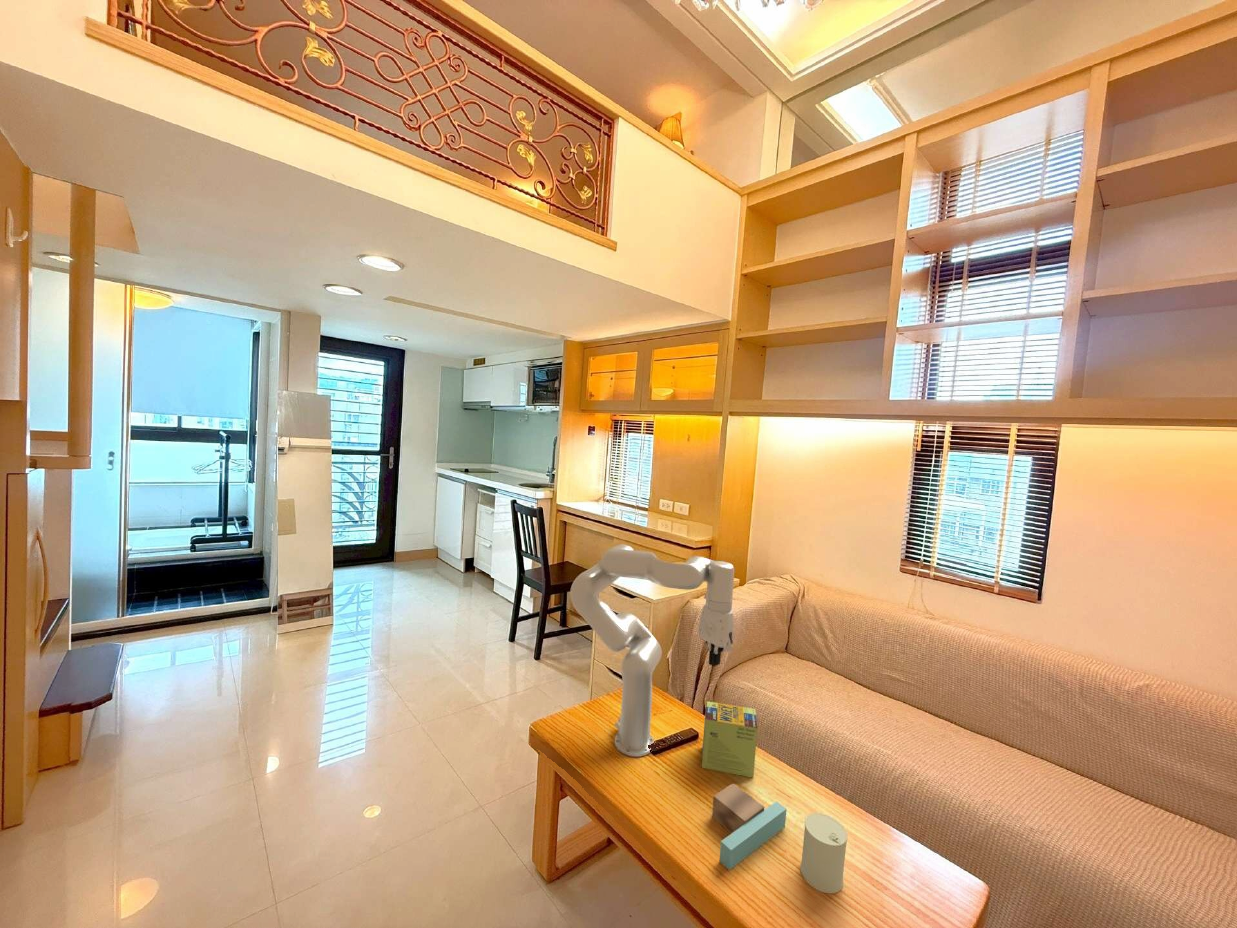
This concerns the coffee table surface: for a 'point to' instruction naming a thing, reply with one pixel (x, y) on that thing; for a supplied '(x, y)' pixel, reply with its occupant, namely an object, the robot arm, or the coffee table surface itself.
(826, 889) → the can
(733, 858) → the teal board
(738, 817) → the brown block
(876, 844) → the coffee table surface
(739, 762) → the protein box
